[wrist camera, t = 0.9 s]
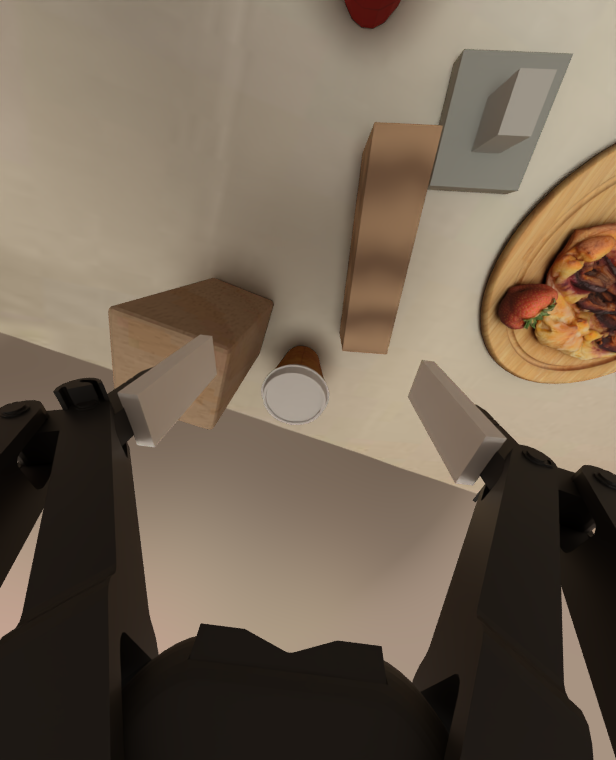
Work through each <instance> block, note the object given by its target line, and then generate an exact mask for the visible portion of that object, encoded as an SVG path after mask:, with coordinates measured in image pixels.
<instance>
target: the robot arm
mask: <svg viewBox="0 0 616 760" xmlns="http://www.w3.org/2000/svg"><path fill="white" fill-rule="evenodd" d="M216 375H217V372H216V363H215V355H214V347H213V338H212V336H208V335H199V336H197V337H196V338H195V339H193V340H192V341H190V342H189V343H187V344H186V345H185V346H183V347H182V348H180V349H179V350H177V351H176V352H175V353H173V354H172V355H170V356H169V357H167V358H166V359H165V360H163V361H162V362H160V363H159V364H157V365H156V366H155V367H153V368H152V367H151V368H149V369H146V370H144V371H141V372H139V373H138V374H136V375H135V376H133V378H130V379H129V380H127V381H126V383H123V384H122V385H120V386H119V387H117V388H116V389H114V390H113V391H111V392H110V393H108V394H107V392H106V390H105V388H104V385H103V383H102V381H101V380H99V379H96V378H82V379H77V380H73V381H69V382H67V383H64V384H62V385H60V386H59V387H57V388H56V389H55V390H54V394H55V396H56V397H57V399H58V401H59V402H60V405H61V406H62V408H63V410H53V411H46V410H45V408H44V406H43V405H42V403H41V402H40V401H35V400H29V401H21V402H14V403H12V404H7V405H5V406H3V407H1V408H0V587H1V585H2V584H3V582H4V580H5V578H6V576H7V574H8V573H9V571H10V569H11V567H12V565H13V563H14V562H15V560H16V558H17V556H18V554H19V552H20V550H21V549H22V547H23V545H24V543H25V541H26V539H27V538H28V536H29V534H30V532H31V530H32V528H33V527H34V524H35V523H36V521H37V519H38V517H39V515H40V513H41V512H42V510H43V508H44V510H43V514H42V519H41V524H40V529H39V534H38V539H37V544H36V549H35V553H34V559H33V563H32V568H31V573H30V578H29V583H28V588H27V592H26V598H25V602H24V607H23V613H22V616H21V619H20V622H19V623H18V625H17V627H16V628H15V629H14V630H12V631H11V632H9V633H8V634H6V635H5V636H3V637H2V638H1V640H0V760H593V749H592V741H591V736H590V731H589V726H588V724H587V721H586V719H585V717H584V715H583V713H582V711H581V710H580V709H579V708H578V707H577V706H576V705H575V704H574V703H573V702H572V701H571V700H569V698H568V696H567V694H566V692H565V687H564V673H563V637H562V602H561V587H562V590H563V593H564V596H565V599H566V602H567V605H568V609H569V612H570V615H571V618H572V621H573V624H574V628H575V631H576V634H577V637H578V640H579V643H580V647H581V649H582V653H583V656H584V659H585V662H586V666H587V669H588V672H589V675H590V678H591V681H592V684H593V688H594V691H595V694H596V697H597V700H598V703H599V707H600V710H601V713H602V716H603V719H604V722H605V725H606V729H607V732H608V735H609V738H610V741H611V744H612V748H613V751H614V754H615V757H616V475H615V474H613V473H611V472H609V471H606V470H603V469H601V468H598V467H595V466H591V465H584V466H582V467H581V468H580V469H579V470H578V471H577V472H576V473H574V472H570V471H567V470H564V469H561V468H558V467H557V466H556V464H555V463H554V462H553V461H552V460H551V459H550V458H549V457H548V456H546V455H545V454H543V453H542V452H540V451H538V450H536V449H534V448H531V447H528V446H524V445H519V444H518V443H517V442H516V441H515V440H514V439H513V438H512V437H511V436H510V435H509V434H508V433H507V432H506V431H505V430H504V429H503V428H502V427H501V426H499V424H498V423H497V422H496V421H495V420H494V418H493V417H492V416H491V415H490V414H489V413H488V412H487V411H485V410H484V409H482V408H481V407H479V406H478V405H475V404H474V403H473V402H472V401H471V400H470V399H469V398H468V397H467V396H466V395H465V394H464V393H463V392H462V391H461V390H460V388H459V387H458V386H457V385H456V384H455V383H454V382H453V381H452V380H451V379H450V378H449V377H448V376H447V375H446V374H445V373H444V372H443V370H442V369H441V368H440V367H439V366H438V365H437V364H436V363H435V362H433V361H425V360H422V361H421V364H420V366H419V369H418V371H417V374H416V377H415V379H414V382H413V385H412V387H411V390H410V392H409V395H408V398H409V400H410V402H411V403H412V405H413V407H414V409H415V411H416V413H417V414H418V416H419V418H420V420H421V422H422V423H423V425H424V427H425V429H426V431H427V433H428V434H429V436H430V438H431V440H432V442H433V444H434V445H435V447H436V449H437V451H438V453H439V455H440V456H441V458H442V460H443V462H444V464H445V465H446V467H447V469H448V471H449V473H450V475H451V476H452V478H453V480H454V482H455V483H458V484H466V485H474V483H475V482H476V480H477V479H478V478H479V476H481V478H482V479H483V481H484V482H485V485H484V486H483V488H482V489H481V490H480V491H479V493H478V494H477V495H476V497H475V498H474V499H473V501H474V502H476V501H477V504H476V506H475V509H474V512H473V516H472V519H471V522H470V525H469V528H468V531H467V534H466V537H465V540H464V543H463V546H462V549H461V552H460V555H459V558H458V561H457V565H456V568H455V571H454V574H453V577H452V580H451V583H450V586H449V589H448V592H447V595H446V598H445V601H444V604H443V607H442V610H441V613H440V617H439V620H438V623H437V626H436V629H435V632H434V635H433V638H432V641H431V644H430V647H429V650H428V652H427V654H426V656H425V657H424V659H423V661H422V662H421V664H420V666H419V668H418V670H417V672H416V674H415V676H414V679H413V682H411V681H410V680H409V679H407V678H406V677H405V676H404V675H403V674H402V673H401V672H400V671H399V670H397V669H396V668H395V667H393V666H392V665H390V664H389V663H388V662H385V661H384V660H383V653H382V647H381V646H376V645H368V644H360V643H351V642H344V641H334V642H330V643H327V644H323V645H320V646H316V647H312V648H309V649H305V650H301V651H297V652H294V653H288V652H285V651H283V650H281V649H280V648H278V647H276V646H274V645H273V644H271V643H269V642H267V641H265V640H263V639H262V638H260V637H258V636H256V635H255V634H253V633H251V632H249V631H247V630H245V629H240V628H232V627H225V626H216V625H209V624H200V627H199V630H198V634H197V636H195V637H191V638H189V639H186V640H184V641H181V642H179V643H177V644H175V645H174V646H172V647H170V648H168V649H167V650H165V651H163V652H162V653H161V654H158V648H157V642H156V637H155V633H154V630H153V626H152V623H151V620H150V615H149V609H148V600H147V592H146V583H145V575H144V567H143V559H142V550H141V541H140V533H139V525H138V517H137V508H136V499H135V491H134V482H133V475H132V466H131V458H130V449H129V446H128V443H127V441H128V440H129V439H130V438H131V437H132V436H133V435H134V437H135V440H136V442H137V445H140V446H149V447H155V446H156V445H157V444H158V443H159V442H160V440H161V439H162V438H163V437H164V436H165V435H166V434H167V432H168V431H169V430H170V429H171V428H172V426H173V425H174V424H175V423H176V422H177V420H178V419H179V418H180V417H181V416H182V415H183V414H184V412H185V411H186V410H187V409H188V408H189V407H190V405H191V404H192V403H193V402H194V401H195V399H196V398H197V397H198V396H199V395H200V394H201V392H202V391H203V390H204V389H205V388H206V387H207V385H208V384H209V383H210V382H211V381H212V379H213V378H214V377H215V376H216ZM17 461H18V463H17ZM595 527H596V530H595V533H594V534H593V532H592V530H593V529H594V528H595Z"/></svg>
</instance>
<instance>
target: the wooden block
mask: <svg viewBox="0 0 616 760" xmlns="http://www.w3.org/2000/svg"><path fill="white" fill-rule="evenodd" d="M272 308H273V302H272V301H271V300H269V299H266V298H263V297H261V296H258V295H256V294H253V293H251V292H248V291H246V290H243V289H241V288H238V287H236V286H233V285H231V284H228V283H225V282H223V281H220V280H218V279H215V278H211V279H208V280H204V281H201V282H197V283H193V284H190V285H186V286H183V287H179V288H176V289H172V290H168V291H165V292H161V293H158V294H154V295H151V296H147V297H143V298H140V299H136V300H133V301H129V302H126V303H122V304H118V305H115V306H111V307H110V308H109V311H108V315H109V327H110V340H111V353H112V366H113V379H114V389H116V388H117V387H119V386H120V385H122V384H123V383H126V381H127V380H129V379H130V378H133V376H135V375H136V374H138V373H139V372H141V371H144V370H146V369H149V368H151V367H152V368H153V367H155V366H156V365H157V364H159V363H160V362H162V361H163V360H165V359H166V358H167V357H169V356H170V355H172V354H173V353H175V352H176V351H177V350H179V349H180V348H182V347H183V346H185V345H186V344H187V343H189V342H190V341H192V340H193V339H195V338H196V337H197V336H199V335H208V336H212V338H213V347H214V355H215V363H216V372H217V375H216V376H215V377H214V378H213V379H212V381H211V382H210V383H209V384H208V385H207V387H206V388H205V389H204V390H203V391H202V392H201V394H200V395H199V396H198V397H197V398H196V399H195V401H194V402H193V403H192V404H191V405H190V407H189V408H188V409H187V410H186V411H185V412H184V414H183V415H182V416H181V417H180V418H179V419H178V420H180V421H183V422H186V423H189V424H192V425H196V426H199V427H202V428H205V429H212V428H213V427H214V426H215V425H216V423H217V422H218V420H219V418H220V416H221V415H222V413H223V412H224V410H225V409H226V407H227V405H228V404H229V402H230V401H231V399H232V397H233V396H234V394H235V392H236V391H237V389H238V388H239V386H240V384H241V383H242V381H243V379H244V378H245V376H246V375H247V373H248V371H249V370H250V368H251V366H252V365H253V363H254V362H255V360H256V358H257V357H258V355H259V353H260V350H261V346H262V343H263V339H264V336H265V332H266V329H267V326H268V322H269V319H270V315H271V312H272Z"/></svg>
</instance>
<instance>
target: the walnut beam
mask: <svg viewBox="0 0 616 760" xmlns="http://www.w3.org/2000/svg"><path fill="white" fill-rule="evenodd" d="M442 127H443V125H422V124H400V123H378V122H375V123H374V125H373V128H372V130H371V133H370V136H369V138H368V141H367V143H366V146H365V148H364V151H363V154H362V162H361V170H360V178H359V186H358V193H357V201H356V209H355V217H354V225H353V232H352V240H351V248H350V256H349V264H348V271H347V279H346V287H345V295H344V303H343V310H342V318H341V326H340V338H341V344H342V351H350V352H363V353H376V354H387V351H388V347H389V343H390V338H391V334H392V330H393V326H394V322H395V318H396V314H397V310H398V306H399V302H400V298H401V294H402V290H403V286H404V282H405V278H406V274H407V269H408V265H409V261H410V257H411V253H412V249H413V245H414V241H415V237H416V233H417V229H418V225H419V221H420V217H421V213H422V209H423V205H424V200H425V196H426V192H427V188H428V184H429V180H430V176H431V172H432V168H433V164H434V160H435V156H436V152H437V148H438V144H439V140H440V136H441V131H442Z"/></svg>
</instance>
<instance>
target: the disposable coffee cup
mask: <svg viewBox="0 0 616 760" xmlns="http://www.w3.org/2000/svg"><path fill="white" fill-rule="evenodd" d="M261 394H262V399H263V403H264V405H265V408H266V410H267V411H268V412H269V414H271V415H272V416H273V417H274V418H275V419H277V420H279V421H281V422H283V423H286V424H290V425H302V424H307V423H310V422H312V421H314V420H315V419H317V418H318V417H319V416H320V415H321V414H322V412H323V411H324V410H325V408H326V406H327V404H328V401H329V389H328V386H327V384H326V382H325V380H324V379H323V375H322V370H321V366H320V362H319V358H318V355H317V354H316V352H314V351H313V350H312V349H311V348H308V347H305V346H297V347H294V348H292V349H290V350H289V351H288V352H287V354H286V355H285V357H284V358H283V359H282V361H281V362H280V363H279V365H278V366H277V367H276V369H275V370H273V371H272V372H270V373H269V374H268V375H267V377H266V378H265V380H264V382H263V384H262V389H261Z"/></svg>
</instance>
